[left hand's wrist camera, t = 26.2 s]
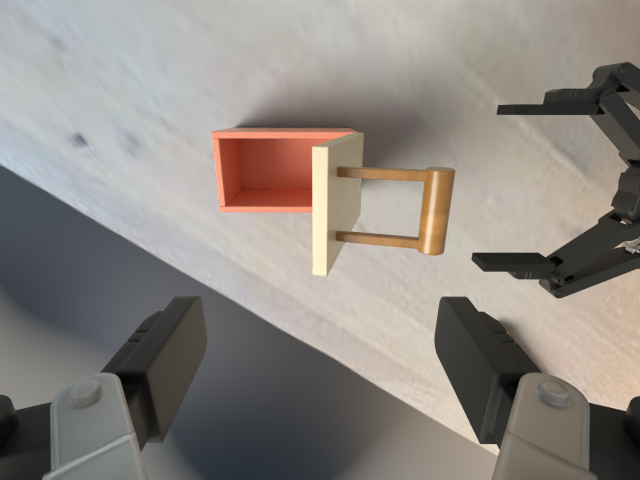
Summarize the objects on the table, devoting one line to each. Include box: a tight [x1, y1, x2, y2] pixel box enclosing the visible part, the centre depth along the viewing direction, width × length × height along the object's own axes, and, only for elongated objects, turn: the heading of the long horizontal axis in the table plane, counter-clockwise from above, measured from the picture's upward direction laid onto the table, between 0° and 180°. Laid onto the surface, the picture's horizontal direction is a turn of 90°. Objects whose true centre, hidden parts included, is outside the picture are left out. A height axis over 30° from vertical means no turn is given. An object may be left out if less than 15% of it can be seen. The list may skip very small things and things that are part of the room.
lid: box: [312, 132, 455, 276], centre depth 29 cm, size 16×9×9 cm
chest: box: [212, 127, 357, 212], centre depth 43 cm, size 16×9×11 cm, turn 90°
